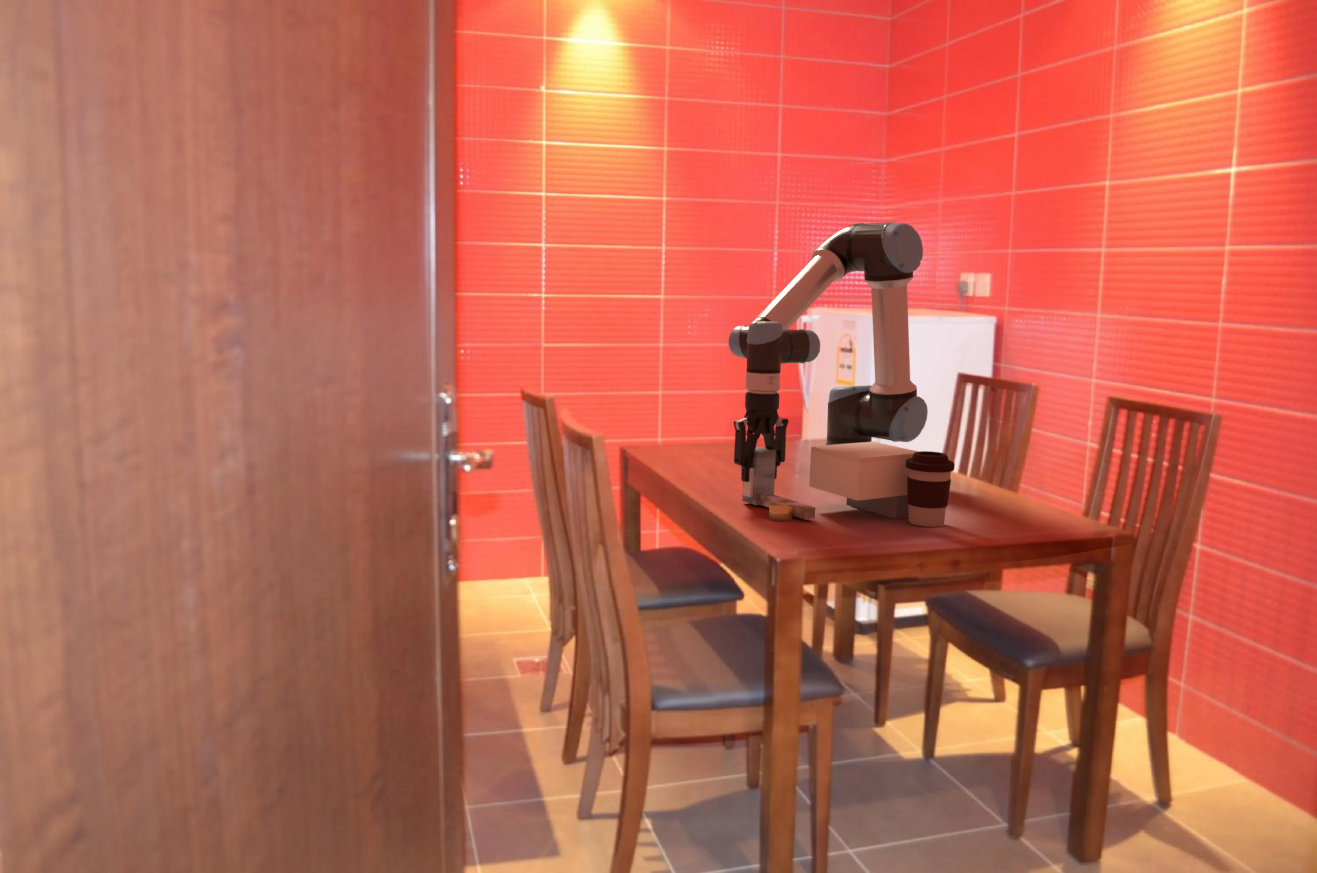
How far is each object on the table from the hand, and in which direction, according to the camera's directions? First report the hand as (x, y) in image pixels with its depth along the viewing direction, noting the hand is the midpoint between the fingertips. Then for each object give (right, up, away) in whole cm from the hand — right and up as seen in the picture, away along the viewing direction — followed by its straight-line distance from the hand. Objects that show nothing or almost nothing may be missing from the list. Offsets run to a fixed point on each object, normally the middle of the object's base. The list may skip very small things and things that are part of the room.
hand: (758, 494), depth 236 cm
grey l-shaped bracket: (+4, -3, -6) cm, 8 cm away
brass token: (+4, -4, -13) cm, 14 cm away
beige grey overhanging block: (+23, -4, -5) cm, 23 cm away
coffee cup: (+34, -6, -14) cm, 37 cm away
